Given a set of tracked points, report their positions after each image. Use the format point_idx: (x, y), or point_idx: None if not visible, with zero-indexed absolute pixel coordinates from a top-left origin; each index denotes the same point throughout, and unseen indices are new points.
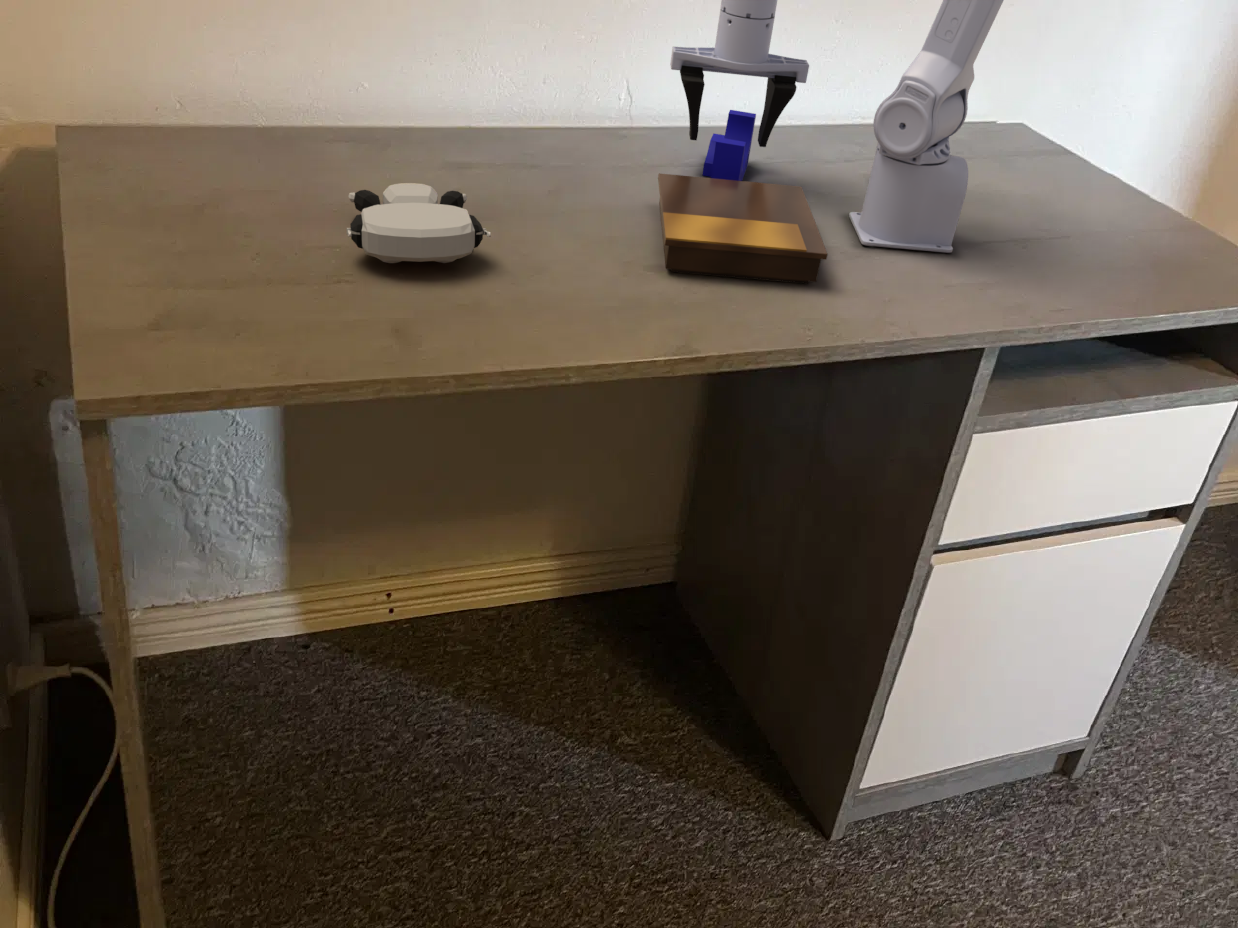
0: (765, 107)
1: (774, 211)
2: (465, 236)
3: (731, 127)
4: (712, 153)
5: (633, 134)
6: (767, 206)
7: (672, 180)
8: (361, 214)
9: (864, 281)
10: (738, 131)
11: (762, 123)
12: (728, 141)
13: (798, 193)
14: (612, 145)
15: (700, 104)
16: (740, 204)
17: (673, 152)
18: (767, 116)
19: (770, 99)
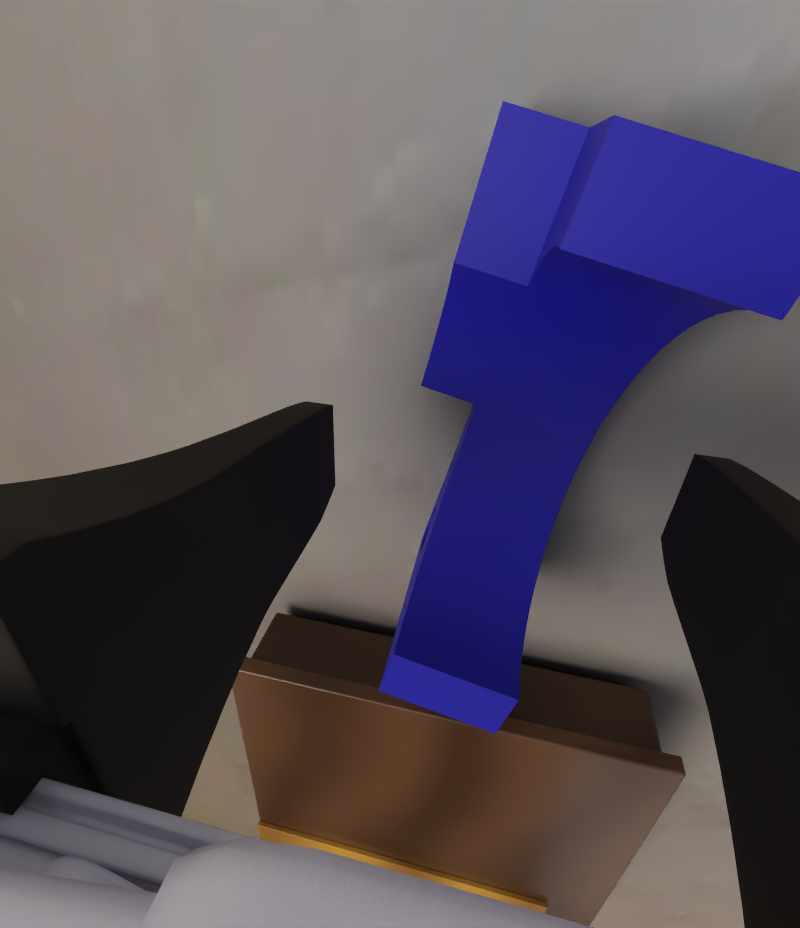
0: (788, 619)
1: (515, 856)
2: None
3: (584, 262)
4: (466, 322)
5: None
6: (506, 837)
7: (268, 707)
8: None
9: (674, 877)
10: (631, 281)
11: (725, 555)
12: (434, 692)
13: (643, 806)
14: (32, 12)
15: (242, 660)
16: (435, 820)
17: (322, 40)
18: (715, 708)
19: (762, 844)
